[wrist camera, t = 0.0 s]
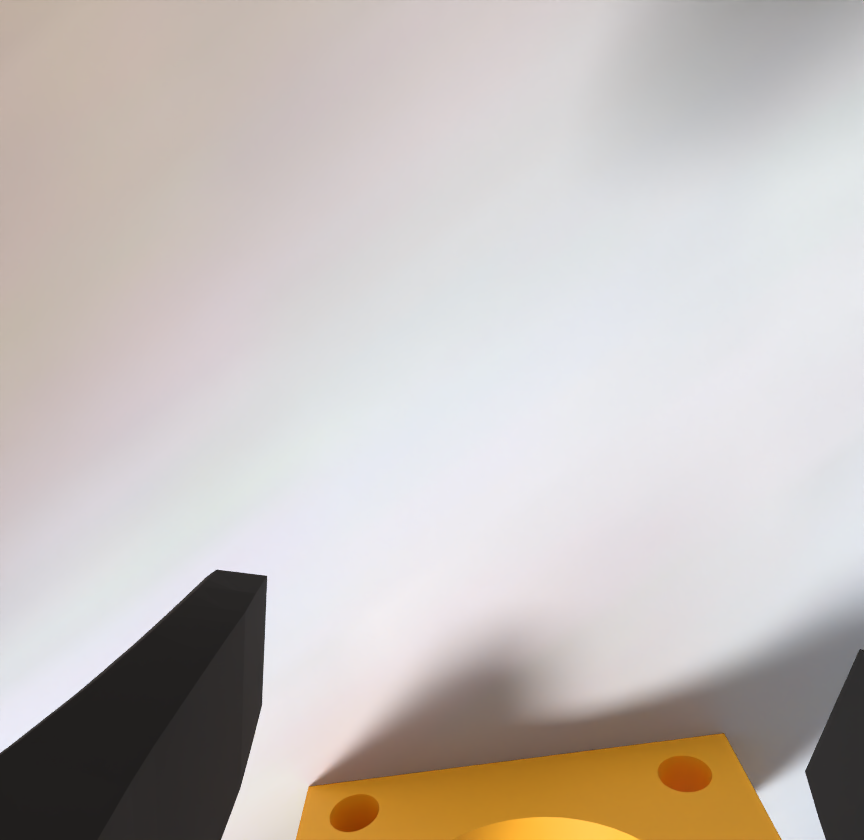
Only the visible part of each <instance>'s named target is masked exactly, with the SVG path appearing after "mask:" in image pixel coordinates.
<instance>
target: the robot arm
mask: <svg viewBox="0 0 864 840" xmlns="http://www.w3.org/2000/svg"><path fill="white" fill-rule="evenodd" d="M266 591H267V576H263V575H255V574H247V573H239V572H231V571H223V570H216V571H214V572H213V573H211V574H210V575H209V576H207V577H206V578H205V579H204V580H203V581H202V582H201V583H200V584H199V585H198V586H196V587H195V588H194V589H193V590H192V591H191V592H190V593H189V594H188V595H187V596H186V597H185V598H184V599H183V600H182V601H181V602H180V603H179V604H177V605H176V606H175V607H174V608H173V609H172V610H171V611H170V612H169V613H168V614H167V615H166V616H165V617H164V618H162V619H161V620H160V621H159V622H158V623H157V624H156V625H155V626H154V627H153V628H152V629H150V630H149V631H148V632H147V633H146V634H145V635H144V636H143V637H142V638H141V639H139V640H138V641H137V642H136V643H135V644H134V645H133V646H131V647H130V648H129V649H128V650H127V651H126V652H125V653H123V654H122V655H121V656H120V657H119V658H118V659H116V660H115V661H114V662H113V663H112V664H111V665H109V666H108V667H107V668H106V669H105V670H104V671H103V672H101V673H100V674H99V675H98V676H97V677H96V678H94V679H93V680H92V681H91V682H90V683H89V684H87V685H86V686H85V687H84V688H83V689H81V690H80V691H79V692H78V693H77V694H75V695H74V696H73V697H72V698H70V699H69V700H68V701H67V702H65V703H64V704H63V705H61V706H60V707H59V708H58V709H56V710H55V711H54V712H53V713H51V714H50V715H49V716H47V717H46V718H45V719H44V720H42V721H41V722H40V723H39V724H37V725H36V726H35V727H33V728H32V729H31V730H30V731H28V732H27V733H26V734H25V735H23V736H22V737H21V738H19V739H18V740H17V741H16V742H14V743H13V744H12V745H11V746H9V747H8V748H7V749H5V750H4V751H2V752H1V753H0V840H221V838H222V835H223V833H224V830H225V827H226V825H227V822H228V819H229V817H230V814H231V812H232V809H233V806H234V803H235V801H236V798H237V795H238V793H239V790H240V787H241V783H242V780H243V776H244V772H245V768H246V765H247V761H248V757H249V754H250V750H251V746H252V742H253V738H254V734H255V730H256V726H257V722H258V718H259V714H260V711H261V707H262V688H263V664H264V640H265V615H266ZM805 773H806V776H807V779H808V783H809V786H810V790H811V793H812V796H813V800H814V803H815V807H816V810H817V813H818V817H819V820H820V823H821V826H822V829H823V832H824V835H825V838H826V840H864V650H861V649H860V650H859V652H858V654H857V657H856V659H855V661H854V663H853V665H852V668H851V670H850V672H849V674H848V677H847V679H846V681H845V683H844V686H843V688H842V690H841V692H840V695H839V697H838V699H837V701H836V703H835V706H834V708H833V710H832V712H831V715H830V717H829V719H828V721H827V724H826V726H825V728H824V730H823V732H822V735H821V737H820V739H819V741H818V744H817V746H816V748H815V750H814V753H813V755H812V757H811V759H810V762H809V764H808V766H807V768H806V770H805Z"/></svg>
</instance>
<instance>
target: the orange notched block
mask: <svg viewBox="0 0 864 840" xmlns="http://www.w3.org/2000/svg"><path fill="white" fill-rule="evenodd" d="M296 840H781V838H780V836H779V834H778V832H777V831H776V829H775V827H774V825H773V823H772V821H771V819H770V818H769V816H768V814H767V812H766V810H765V808H764V806H763V805H762V803H761V801H760V799H759V797H758V795H757V793H756V792H755V790H754V788H753V786H752V784H751V782H750V780H749V779H748V777H747V775H746V773H745V771H744V769H743V767H742V766H741V764H740V762H739V760H738V758H737V756H736V754H735V753H734V751H733V749H732V747H731V745H730V743H729V741H728V740H727V738H726V736H725V734H724V733H722V734H714V735H706V736H699V737H691V738H683V739H675V740H667V741H660V742H652V743H644V744H636V745H628V746H621V747H613V748H605V749H597V750H589V751H582V752H574V753H566V754H558V755H550V756H543V757H535V758H527V759H519V760H511V761H504V762H496V763H488V764H480V765H472V766H465V767H457V768H449V769H441V770H433V771H426V772H418V773H410V774H402V775H394V776H387V777H379V778H371V779H363V780H355V781H348V782H340V783H332V784H324V785H316V786H309V787H308V792H307V796H306V800H305V804H304V808H303V812H302V816H301V820H300V824H299V829H298V833H297V837H296Z"/></svg>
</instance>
